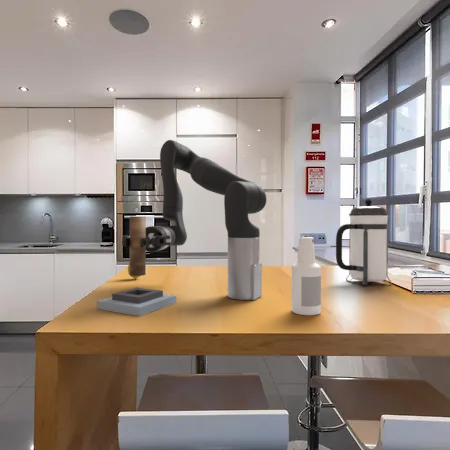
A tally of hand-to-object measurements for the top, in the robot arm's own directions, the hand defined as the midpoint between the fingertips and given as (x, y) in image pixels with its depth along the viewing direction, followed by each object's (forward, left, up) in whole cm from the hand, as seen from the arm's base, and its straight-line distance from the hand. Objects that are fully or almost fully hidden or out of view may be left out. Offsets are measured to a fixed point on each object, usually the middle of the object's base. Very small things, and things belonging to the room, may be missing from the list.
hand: (133, 242), depth 83 cm
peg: (+1, -3, -8) cm, 9 cm away
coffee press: (-49, -63, -17) cm, 82 cm away
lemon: (+29, -32, -17) cm, 46 cm away
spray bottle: (-39, -16, -17) cm, 46 cm away
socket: (+1, -2, -16) cm, 17 cm away
